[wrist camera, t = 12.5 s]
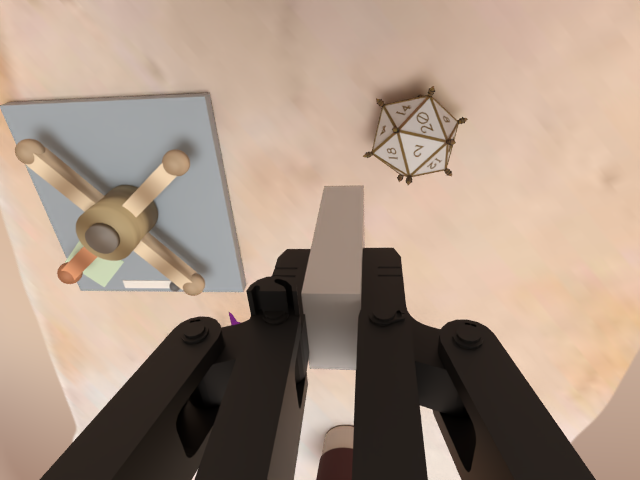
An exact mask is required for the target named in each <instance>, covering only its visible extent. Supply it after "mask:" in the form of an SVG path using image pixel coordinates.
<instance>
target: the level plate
mask: <svg viewBox="0 0 640 480" xmlns="http://www.w3.org/2000/svg"><path fill="white" fill-rule="evenodd" d="M0 108H1V111H2V113H3V115H4V118H5V120H6V122H7V124H8V127H9V129H10V131H11V133H12V136H13V138H14V140H15V142H16V145H17V144H18V143H19V142H20V141H21V140H24V139H35V140H37V141H39V142H40V143H42V144H43V146H44V147H46V148H47V149H48V150H50V151H51V152H52V153H53V154H54V155H56V156H57V157H58V158H59V159H61V160H62V161H63V162H64V163H65V164H67V165H68V166H69V167H70V168H71V169H73V170H74V171H75V172H76V173H77V174H79V175H80V176H81V177H82V178H83V179H85V180H86V181H87V182H88V183H90V184H91V185H92V186H93V187H94V188H96V189H97V190H98V191H99V192H100V193H102V194H103V195H106V194H107V193H108V192H109V191H110V190H112V189H113V188H115V187H117V186H120V185H129V186H134V187H136V188H139V187H140V186H141V185H142V184H143V183H144V182H145V181H146V179H147V178H148V177H149V176H150V175H151V174H152V173H153V172H154V171H155V170H156V169H157V168H158V167H159V166H160V165H161V164H162V159H163V156H164V155H165V153H166V152H168V151H170V150H173V149H177V150H181V151H183V152H184V153H186V154H187V156H188V157H189V160H190V167H189V170H188V171H187V172H186V173H185V174H184V175H182V176H177V177H176V178H175V179H174V180H173V181H172V182H171V183H170V184H169V185H168V186H167V187H166V188H165V189H164V190H163V191H162V192H161V193H160V194H159V195H158V196H157V197H156V198H155V199H154V200H153V201H154V203H155V205H156V207H157V210H158V220H157V222H156V224H155V226H154V227H153V228H152V229H151V230H150V231H149V233H150V234H151V235H152V236H154V237H155V238H156V239H157V240H158V241H160V242H161V243H162V244H163V245H164V246H166V247H167V248H168V249H169V250H170V251H172V252H173V253H174V254H175V255H177V256H178V257H179V258H180V259H181V260H183V261H184V262H185V263H186V264H187V265H189V266H190V267H191V268H192V269H193V270H195V271H196V272H197V274H200V275H201V276H202V277H203V278H204V280H205V288H204V290H203V291H202V292H244V289H245V287H246V281H245V276H244V271H243V265H242V260H241V255H240V250H239V245H238V239H237V234H236V229H235V224H234V218H233V213H232V208H231V203H230V198H229V192H228V187H227V182H226V177H225V171H224V166H223V161H222V156H221V150H220V145H219V140H218V135H217V130H216V124H215V119H214V114H213V109H212V103H211V98H210V93H194V94H173V95H151V96H130V97H108V98H87V99H65V100H44V101H22V102H8V103H6V104H3V105H0ZM26 167H27V170H28V172H29V174H30V176H31V179H32V181H33V183H34V186H35V188H36V190H37V192H38V195H39V197H40V199H41V201H42V204H43V206H44V208H45V211H46V213H47V215H48V217H49V220H50V222H51V224H52V226H53V229H54V231H55V233H56V235H57V238H58V240H59V242H60V245H61V247H62V249H63V251H64V254H65V256H66V258H67V260H66V261H65V263H66V262H69V261H70V260H71V259H72V258H73V257H74V256H75V255H76V254H77V253H78V252H79V251H80V250H81V249H82V247H83V245H82V244H81V242H80V241H79V239H78V236H77V234H76V222H77V220H78V218H79V217H80V216H81V215H82V214H83V213H84V211H83V210H82V209H80V208H79V207H78V206H77V205H75V204H74V203H73V202H72V201H70V200H69V199H68V198H67V197H65V196H64V195H63V194H62V193H60V192H59V191H58V190H57V189H55V188H54V187H53V186H52V185H50V184H49V183H48V182H47V181H45V180H44V179H43V178H42V177H40V176H39V175H38V174H37V173H35V172H34V171H33V170H32V169H30V168H29V167H28V166H27V165H26ZM77 283H78V285H79V288H80V290H81V291H174V292H184V291H183V290H182V289H180V288H179V287H178V286H177V285H175V284H174V283H173V282H172V281H170V280H169V279H168V278H167V277H165V276H164V275H163V274H162V273H160V272H159V271H158V270H157V269H155V268H154V267H153V266H152V265H150V264H149V263H148V262H147V261H145V260H144V259H143V258H142V257H140V256H139V255H138V254H137V253H135V252H134V251H132V252H131V254H130V255H129V256H128V257H126V258H125V259H122V260H118V261H110V260H105V259H102V258H99V257H97V258H96V259H95V260H94V261H93V262H92V263H91V264H90V265H89V266H88V267H87V268H86V269H85V270H84V271H83V275H82V278H81V279H80V280H79V281H78V282H77Z"/></svg>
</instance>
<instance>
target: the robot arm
mask: <svg viewBox="0 0 640 480" xmlns="http://www.w3.org/2000/svg"><path fill="white" fill-rule="evenodd" d="M247 296H248V301H249V307H250V312H251V317H250V319H249V320H247V321H245V322H243V323H239V324H236V325H231V326H227V327H222V328H221V325H220V324H219V323H218V321H217V320H215V319H213V318H210V317H196V318H191V319H188V320H186V321H184V322H182V323H180V324H179V325H178V326H177V327H176V328H174V329H173V331H172V332H171V333H170V334H169V335H168V336H167V337H166V338H165V339H164V341H163V342H162V343H161V344H160V345H159V346H158V347H157V348H156V350H155V351H154V352H153V353H152V354H151V355H150V356H149V357H148V359H147V360H146V361H145V362H144V363H143V364H142V365H141V366H140V368H139V369H138V370H137V371H136V372H135V373H134V374H133V375H132V377H131V378H130V379H129V380H128V381H127V382H126V383H125V384H124V386H123V387H122V388H121V389H120V390H119V391H118V392H117V393H116V395H115V396H114V397H113V398H112V399H111V400H110V401H109V402H108V403H107V405H106V406H105V407H104V408H103V409H102V410H101V411H100V412H99V414H98V415H97V416H96V417H95V418H94V419H93V420H92V421H91V423H90V424H89V425H88V426H87V427H86V428H85V429H84V430H83V432H82V433H81V434H80V435H79V436H78V437H77V438H76V439H75V441H74V442H73V443H72V444H71V445H70V446H69V447H68V448H67V450H66V451H65V452H64V453H63V454H62V455H61V456H60V457H59V459H58V460H57V461H56V462H55V463H54V464H53V465H52V466H51V468H50V469H49V470H48V471H47V472H46V473H45V474H44V475H43V477H42V478H41V479H40V480H192V478H193V476H194V475H195V473H196V471H197V470H198V471H197V474H196V477H195V480H294V474H295V467H296V461H297V454H298V447H299V440H300V434H301V427H302V420H303V413H304V407H305V400H306V393H307V386H308V381H307V372H306V371H307V365H308V358H309V367H310V369H339V370H356V384H355V409H354V435H353V460H352V480H428V477H427V468H426V459H425V450H424V441H423V432H422V423H421V414H420V405H421V406H424V407H427V408H430V409H433V414H434V416H435V419H436V421H437V423H438V426H439V428H440V430H441V433H442V435H443V437H444V440H445V442H446V445H447V447H448V449H449V452H450V454H451V456H452V459H453V461H454V463H455V466H456V468H457V470H458V473H459V475H460V477H461V480H596V479H595V478H594V476H593V475H592V474H591V472H590V471H589V469H588V468H587V466H586V465H585V463H584V462H583V461H582V459H581V458H580V456H579V455H578V453H577V452H576V451H575V449H574V448H573V446H572V445H571V443H570V442H569V441H568V439H567V438H566V436H565V435H564V433H563V432H562V430H561V429H560V428H559V426H558V425H557V423H556V422H555V420H554V419H553V418H552V416H551V415H550V413H549V412H548V410H547V409H546V408H545V406H544V405H543V403H542V402H541V400H540V399H539V397H538V396H537V395H536V393H535V392H534V390H533V389H532V387H531V386H530V385H529V383H528V382H527V380H526V379H525V377H524V376H523V375H522V373H521V372H520V370H519V369H518V367H517V366H516V364H515V363H514V362H513V360H512V359H511V357H510V356H509V354H508V353H507V352H506V350H505V349H504V347H503V346H502V344H501V343H500V342H499V340H498V339H497V337H496V336H495V334H494V333H493V332H492V331H491V330H490V329H489V328H488V327H486V326H484V325H482V324H480V323H478V322H475V321H471V320H454V321H451V322H448V323H447V324H445V325H444V326H443V327H442V328H441V329H437V328H433V327H430V326H427V325H424V324H421V323H420V322H418V321H416V320H415V319H414V318H413V317H411V316H410V314H409V313H408V311H407V308H406V301H405V292H404V283H403V273H402V264H401V256H400V255H399V254H398V253H397V252H396V250H395V249H394V248H365V240H364V186H324V190H323V195H322V200H321V204H320V209H319V214H318V218H317V223H316V228H315V232H314V237H313V241H312V246H311V249H287V250H286V251H284V252H283V253H282V254H281V255H280V256H279V257H278V259H277V262H276V266H275V269H274V272H273V275H272V276H271V277H265V278H262V279H260V280H257V281H256V282H254V283H253V284H251V285H250V287H249V288H248V289H247Z"/></svg>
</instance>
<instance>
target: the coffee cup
mask: <svg viewBox="0 0 640 480" xmlns="http://www.w3.org/2000/svg"><path fill="white" fill-rule="evenodd" d="M353 435H354V427H352V426H338V427H335V428H333V429H331V430H330V431H329V432H328V433H327V434H326V437H325V441H324V447H323V453H322V456H321V458H320V462H319V468H318V473H317V479H316V480H352V460H353Z"/></svg>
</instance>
